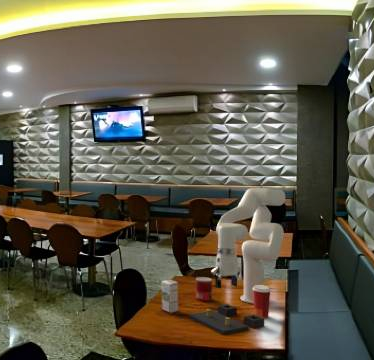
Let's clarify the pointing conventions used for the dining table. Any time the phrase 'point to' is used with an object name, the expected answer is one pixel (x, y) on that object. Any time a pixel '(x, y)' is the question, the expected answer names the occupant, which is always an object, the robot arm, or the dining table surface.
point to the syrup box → (169, 296)
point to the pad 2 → (253, 321)
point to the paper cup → (261, 300)
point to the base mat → (218, 322)
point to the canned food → (203, 289)
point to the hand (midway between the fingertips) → (226, 286)
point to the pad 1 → (227, 310)
